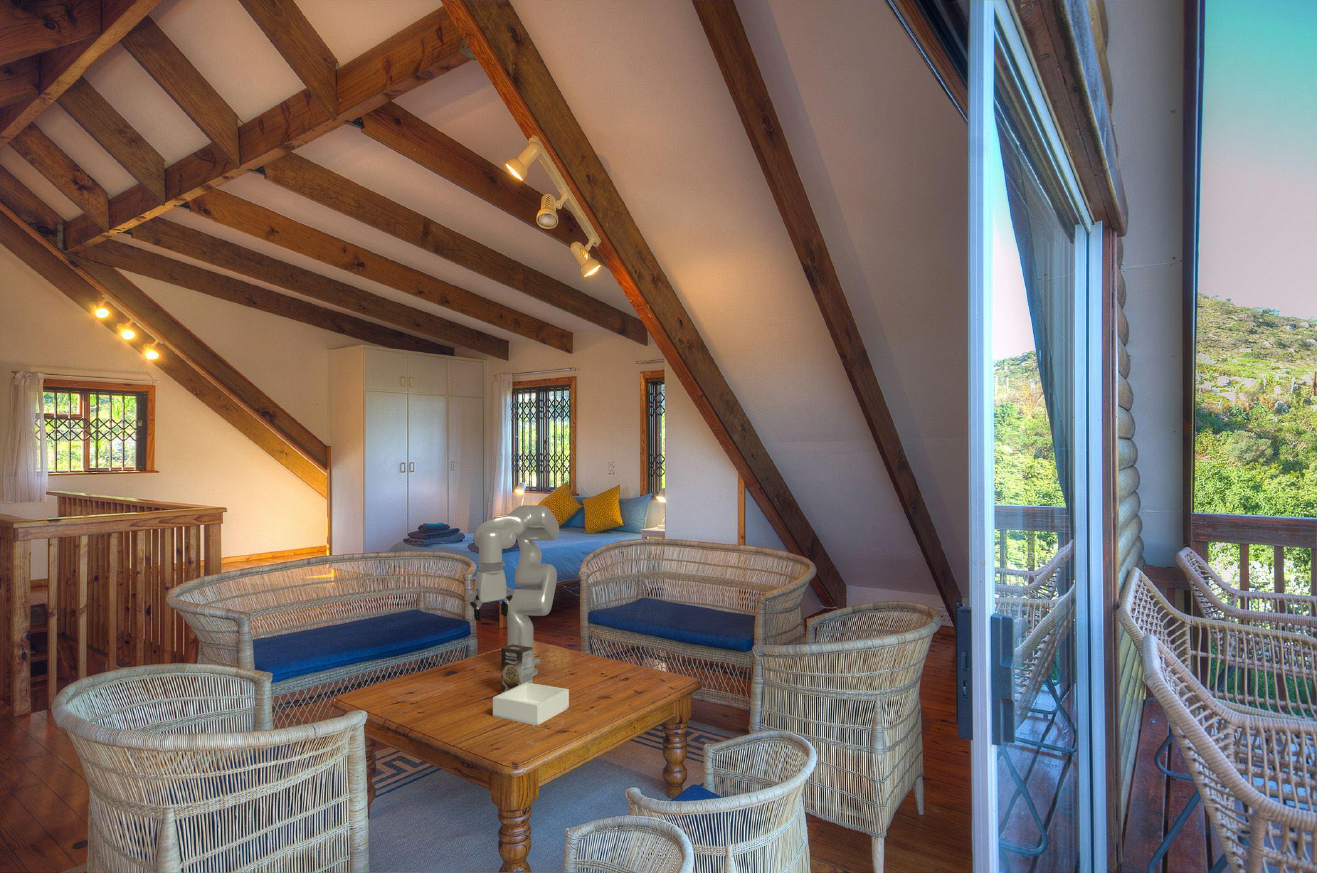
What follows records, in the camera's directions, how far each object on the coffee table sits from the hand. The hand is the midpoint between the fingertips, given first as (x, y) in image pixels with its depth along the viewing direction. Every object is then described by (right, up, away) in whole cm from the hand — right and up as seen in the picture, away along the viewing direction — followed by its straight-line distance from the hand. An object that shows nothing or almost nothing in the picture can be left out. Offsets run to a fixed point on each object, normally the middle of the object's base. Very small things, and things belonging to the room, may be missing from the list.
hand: (491, 618), depth 247 cm
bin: (+16, -27, -13) cm, 34 cm away
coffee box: (+8, -28, +5) cm, 29 cm away
